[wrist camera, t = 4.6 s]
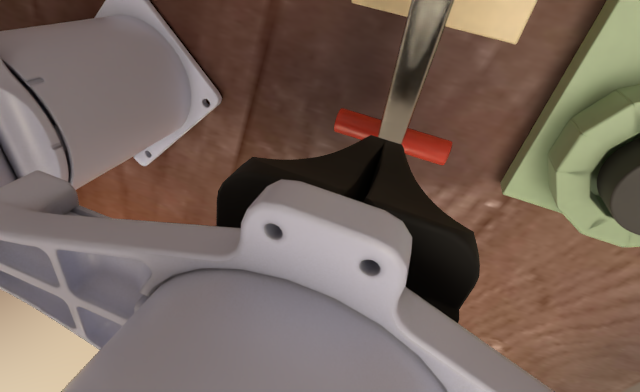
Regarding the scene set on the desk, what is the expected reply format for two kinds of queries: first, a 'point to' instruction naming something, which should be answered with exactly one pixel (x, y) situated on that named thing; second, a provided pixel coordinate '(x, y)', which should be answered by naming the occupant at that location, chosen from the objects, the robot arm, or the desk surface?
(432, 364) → the robot arm
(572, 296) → the desk surface
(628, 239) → the button box
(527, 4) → the bracket
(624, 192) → the button
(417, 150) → the lever
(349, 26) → the desk surface
